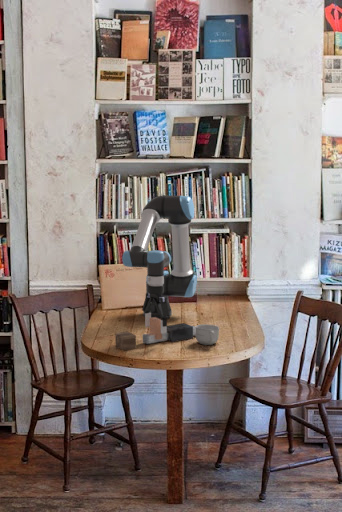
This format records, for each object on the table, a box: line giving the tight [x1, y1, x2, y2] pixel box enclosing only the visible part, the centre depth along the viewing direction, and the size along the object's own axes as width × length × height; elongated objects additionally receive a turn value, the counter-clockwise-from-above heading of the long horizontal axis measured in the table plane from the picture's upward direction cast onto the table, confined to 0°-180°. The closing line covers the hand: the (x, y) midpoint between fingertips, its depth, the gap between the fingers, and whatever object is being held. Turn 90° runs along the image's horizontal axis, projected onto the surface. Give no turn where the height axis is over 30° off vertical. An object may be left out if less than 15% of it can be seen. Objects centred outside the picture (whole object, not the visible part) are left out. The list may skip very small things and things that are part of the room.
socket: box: [114, 330, 137, 352], centre depth 333 cm, size 8×6×6 cm
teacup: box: [195, 323, 220, 346], centre depth 337 cm, size 14×11×8 cm
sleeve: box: [167, 322, 194, 343], centre depth 348 cm, size 8×12×6 cm, turn 123°
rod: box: [142, 317, 196, 345], centre depth 345 cm, size 6×28×11 cm, turn 123°
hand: (155, 330), depth 341 cm, fingers open, 13 cm apart
